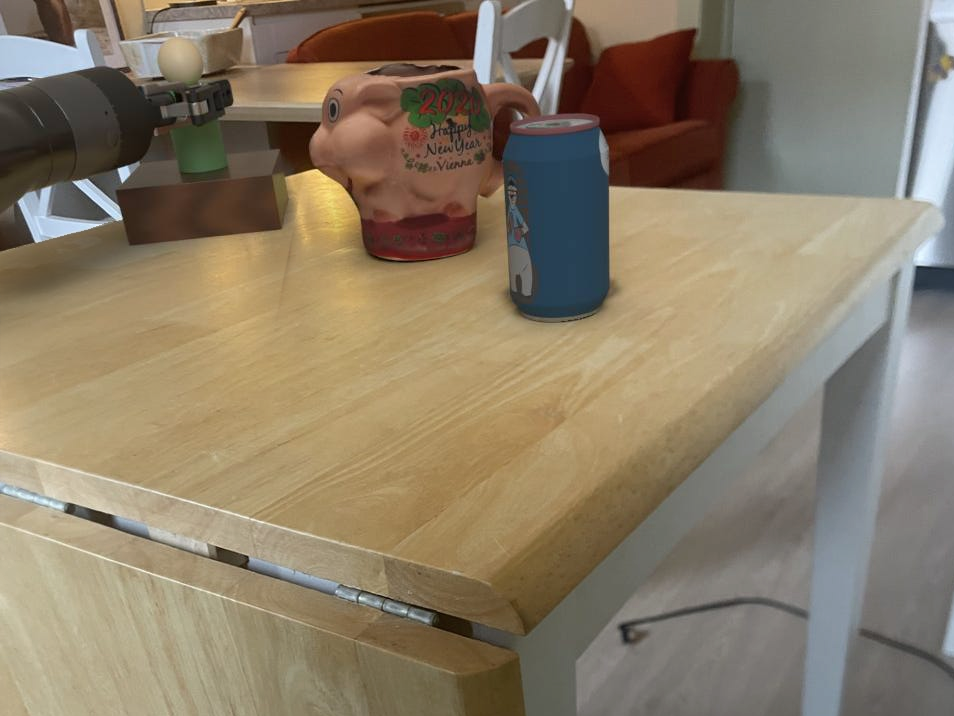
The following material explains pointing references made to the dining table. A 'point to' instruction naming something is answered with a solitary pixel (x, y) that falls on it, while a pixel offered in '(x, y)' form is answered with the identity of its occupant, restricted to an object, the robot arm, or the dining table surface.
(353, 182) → the pink ceramic mug
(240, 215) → the walnut block
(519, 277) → the soda can
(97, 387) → the dining table surface
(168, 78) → the peg doll
